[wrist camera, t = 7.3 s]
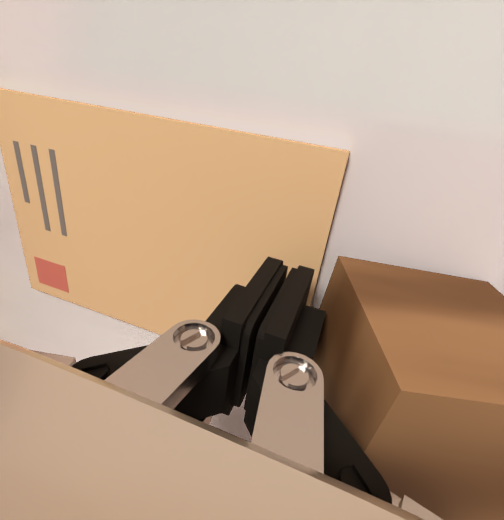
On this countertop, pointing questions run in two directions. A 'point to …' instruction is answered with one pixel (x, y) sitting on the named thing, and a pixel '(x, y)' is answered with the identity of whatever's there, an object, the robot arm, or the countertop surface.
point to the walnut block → (419, 381)
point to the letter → (158, 206)
